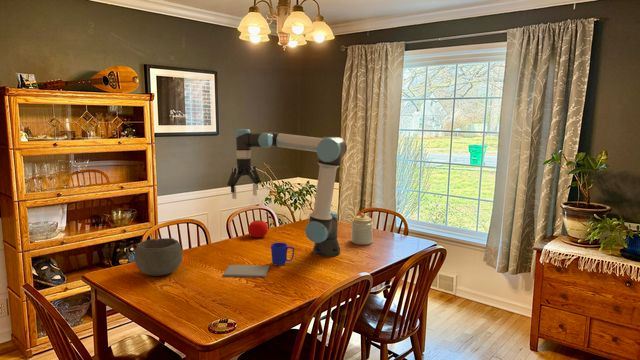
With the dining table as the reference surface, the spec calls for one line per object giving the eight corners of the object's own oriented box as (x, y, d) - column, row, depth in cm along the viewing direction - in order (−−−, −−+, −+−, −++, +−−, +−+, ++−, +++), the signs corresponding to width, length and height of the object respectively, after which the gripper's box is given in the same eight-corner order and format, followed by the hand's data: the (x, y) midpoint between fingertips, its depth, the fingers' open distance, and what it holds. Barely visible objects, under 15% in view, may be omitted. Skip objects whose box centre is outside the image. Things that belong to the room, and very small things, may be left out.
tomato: (266, 239, 262) (266, 222, 261) (246, 239, 262) (246, 222, 261) (269, 234, 273) (269, 218, 272) (250, 234, 274) (249, 217, 272)
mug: (292, 267, 214) (292, 248, 212) (268, 265, 216) (268, 246, 215) (296, 262, 222) (296, 243, 220) (273, 260, 224) (273, 241, 222)
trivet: (269, 267, 214) (269, 265, 214) (265, 277, 200) (265, 275, 200) (229, 266, 215) (229, 264, 214) (222, 276, 201) (222, 274, 201)
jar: (376, 241, 261) (377, 212, 258) (366, 246, 250) (367, 216, 248) (357, 237, 268) (357, 210, 265) (347, 242, 257) (347, 213, 254)
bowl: (137, 284, 190) (135, 252, 188) (133, 269, 209) (132, 239, 206) (186, 277, 200) (185, 245, 198) (178, 263, 218) (177, 234, 216)
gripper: (258, 156, 242) (259, 193, 245) (219, 159, 225) (221, 199, 228) (266, 156, 237) (267, 194, 240) (227, 160, 219) (229, 201, 222)
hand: (244, 197), depth 234 cm, fingers open, 13 cm apart
